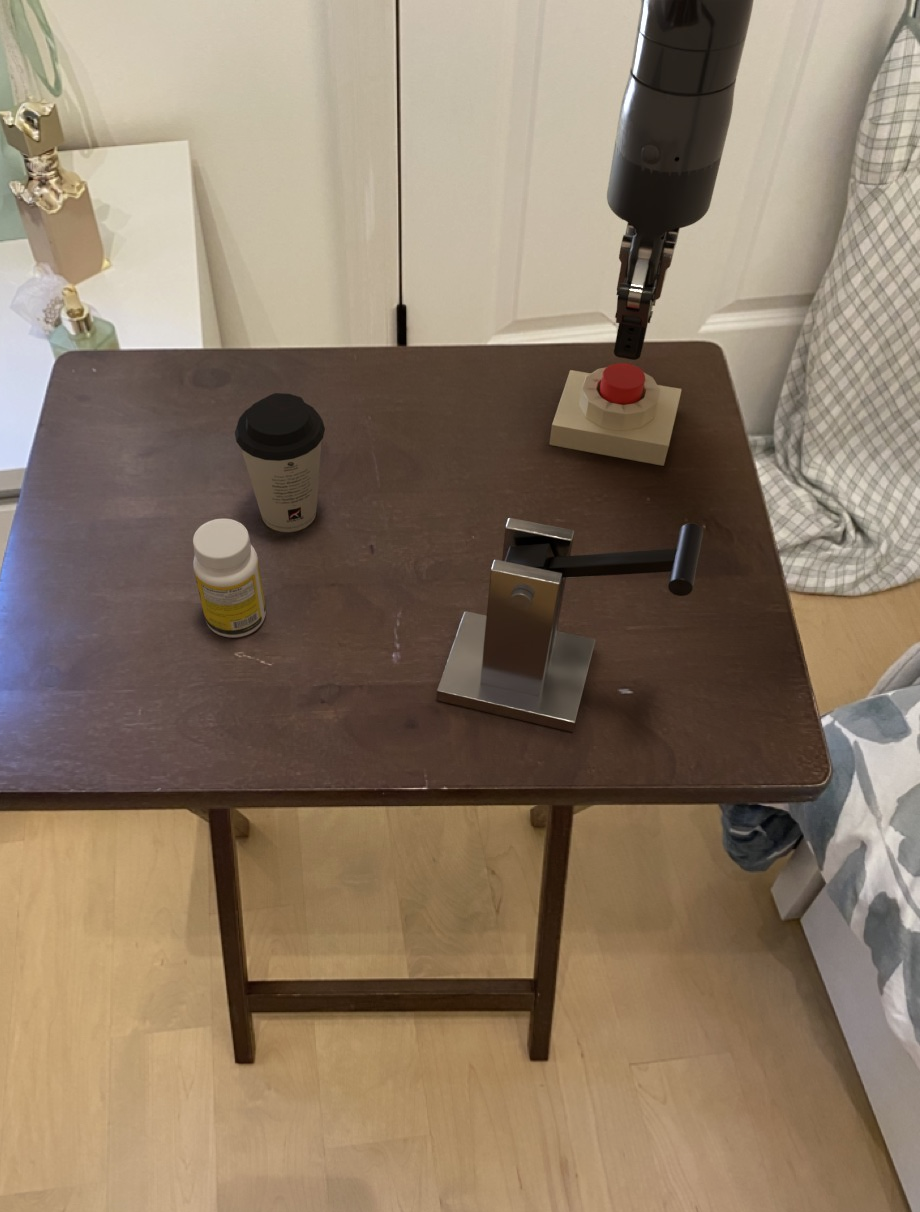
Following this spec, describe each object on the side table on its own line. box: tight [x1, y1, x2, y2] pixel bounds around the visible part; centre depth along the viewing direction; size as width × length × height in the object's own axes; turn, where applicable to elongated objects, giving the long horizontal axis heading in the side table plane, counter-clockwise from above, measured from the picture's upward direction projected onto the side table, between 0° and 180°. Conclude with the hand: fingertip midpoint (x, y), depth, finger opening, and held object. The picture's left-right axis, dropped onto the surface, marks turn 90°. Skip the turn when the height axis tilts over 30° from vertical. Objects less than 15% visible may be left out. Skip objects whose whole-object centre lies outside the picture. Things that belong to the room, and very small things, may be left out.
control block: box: [549, 366, 683, 467], centre depth 95 cm, size 10×8×4 cm
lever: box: [505, 522, 704, 597], centre depth 69 cm, size 12×5×2 cm, turn 73°
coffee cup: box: [234, 392, 326, 533], centre depth 86 cm, size 7×7×10 cm
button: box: [600, 362, 645, 405], centre depth 93 cm, size 4×4×2 cm
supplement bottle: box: [192, 518, 267, 638], centre depth 80 cm, size 5×5×8 cm
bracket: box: [436, 517, 596, 733], centre depth 75 cm, size 10×8×13 cm
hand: (627, 352), depth 90 cm, fingers closed
